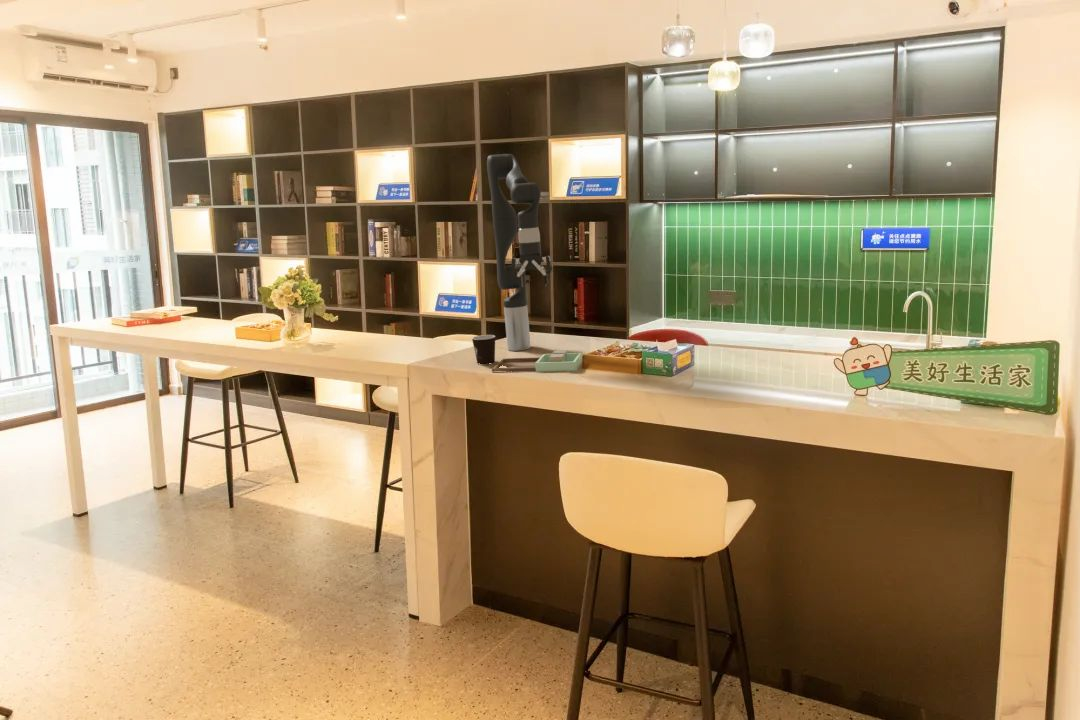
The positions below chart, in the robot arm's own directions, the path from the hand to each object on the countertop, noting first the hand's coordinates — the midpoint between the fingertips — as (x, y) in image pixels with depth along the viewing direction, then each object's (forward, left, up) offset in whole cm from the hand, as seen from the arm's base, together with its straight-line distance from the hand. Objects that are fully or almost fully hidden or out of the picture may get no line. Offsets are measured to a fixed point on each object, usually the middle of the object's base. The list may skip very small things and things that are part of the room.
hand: (533, 286), depth 295 cm
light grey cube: (+11, +9, -28) cm, 31 cm away
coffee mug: (-3, -21, -28) cm, 35 cm away
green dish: (+8, +9, -28) cm, 31 cm away
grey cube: (+5, +9, -28) cm, 29 cm away
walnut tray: (+6, -6, -28) cm, 29 cm away
